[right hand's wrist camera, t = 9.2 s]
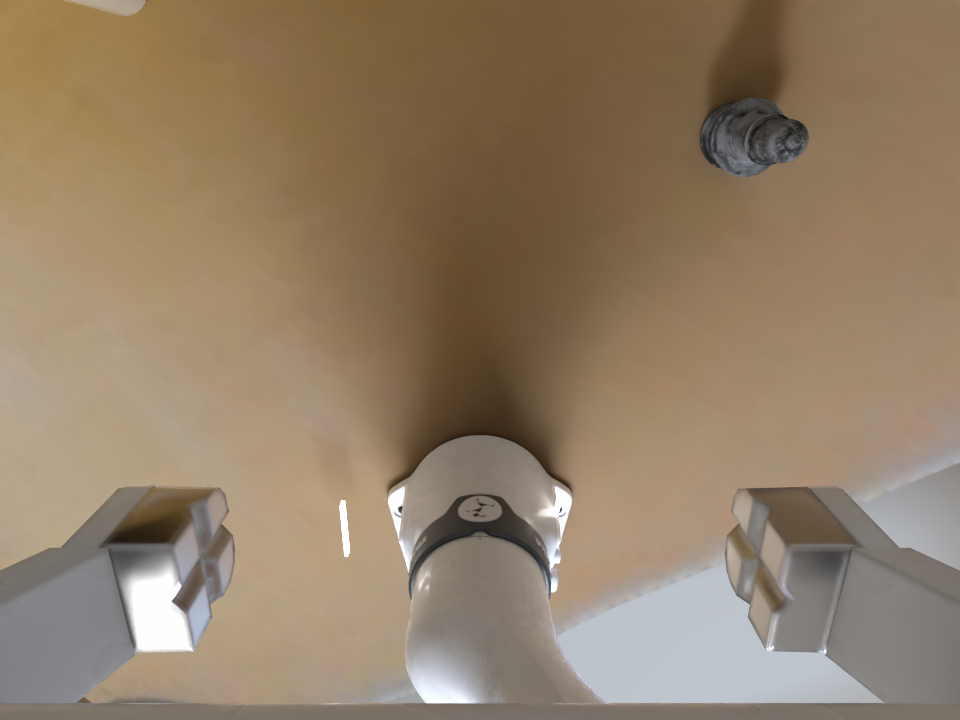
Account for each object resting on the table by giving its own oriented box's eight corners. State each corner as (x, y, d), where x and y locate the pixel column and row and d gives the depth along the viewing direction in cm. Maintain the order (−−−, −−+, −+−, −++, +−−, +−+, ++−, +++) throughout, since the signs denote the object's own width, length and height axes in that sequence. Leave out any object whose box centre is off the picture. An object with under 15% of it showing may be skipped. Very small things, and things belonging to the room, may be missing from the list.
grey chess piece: (682, 144, 54) (735, 152, 42) (731, 82, 52) (800, 74, 41) (732, 187, 55) (797, 206, 44) (782, 128, 53) (863, 132, 42)
